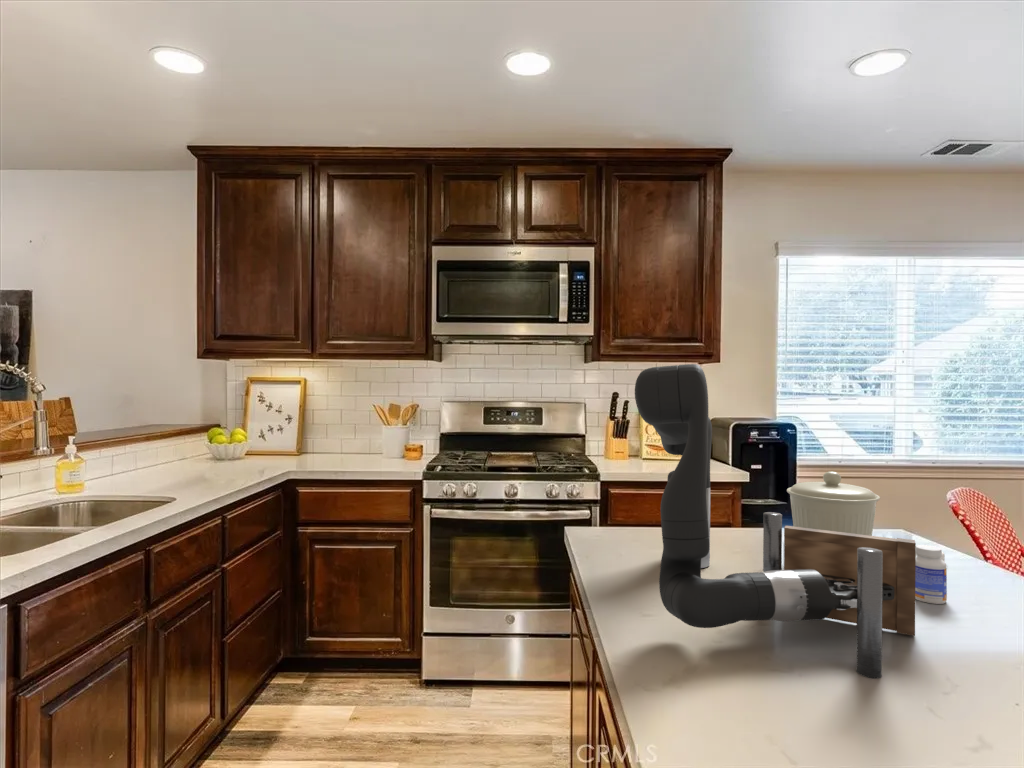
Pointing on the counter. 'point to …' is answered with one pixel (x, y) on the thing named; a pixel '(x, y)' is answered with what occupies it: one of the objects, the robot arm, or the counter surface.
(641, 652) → the counter surface
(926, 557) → the pill bottle
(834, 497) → the canister
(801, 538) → the gate leaf
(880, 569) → the gate posts
